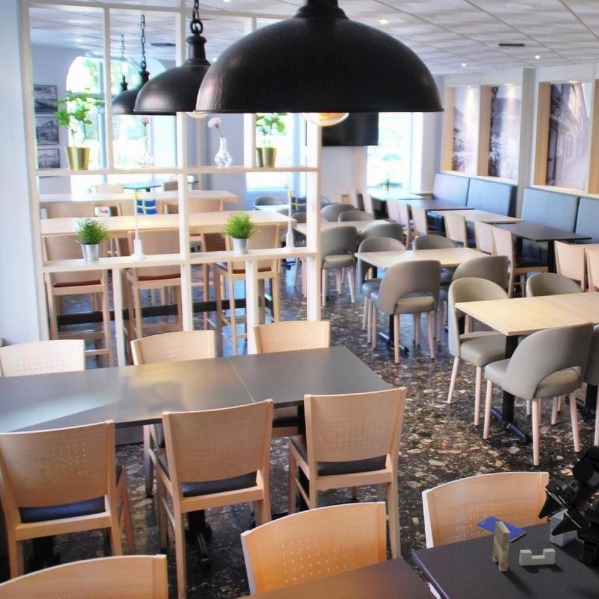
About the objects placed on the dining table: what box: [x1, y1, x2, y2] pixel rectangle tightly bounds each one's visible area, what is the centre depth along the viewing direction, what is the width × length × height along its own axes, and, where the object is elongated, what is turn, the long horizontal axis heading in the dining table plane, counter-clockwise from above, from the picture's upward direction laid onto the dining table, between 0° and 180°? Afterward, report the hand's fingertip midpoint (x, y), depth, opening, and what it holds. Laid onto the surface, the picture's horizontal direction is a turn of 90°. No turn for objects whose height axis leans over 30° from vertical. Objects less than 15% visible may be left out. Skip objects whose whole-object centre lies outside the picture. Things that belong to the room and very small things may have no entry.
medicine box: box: [549, 508, 577, 547], centre depth 242 cm, size 8×4×9 cm, turn 132°
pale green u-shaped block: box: [518, 548, 556, 566], centre depth 229 cm, size 10×2×4 cm, turn 96°
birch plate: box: [492, 520, 510, 572], centre depth 227 cm, size 2×6×12 cm, turn 6°
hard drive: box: [476, 515, 526, 543], centre depth 248 cm, size 2×8×12 cm
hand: (545, 526), depth 223 cm, fingers open, 9 cm apart
